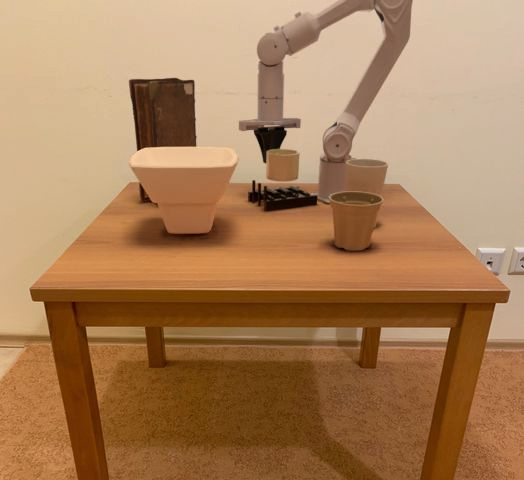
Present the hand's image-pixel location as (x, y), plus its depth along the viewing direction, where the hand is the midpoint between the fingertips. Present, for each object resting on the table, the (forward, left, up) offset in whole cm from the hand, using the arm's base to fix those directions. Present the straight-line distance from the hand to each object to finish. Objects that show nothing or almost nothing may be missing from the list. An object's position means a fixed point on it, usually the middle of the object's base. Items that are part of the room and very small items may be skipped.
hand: (269, 162), depth 119 cm
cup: (-7, +28, -8) cm, 30 cm away
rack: (0, +7, -8) cm, 10 cm away
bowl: (+26, +18, -8) cm, 32 cm away
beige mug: (0, +5, -2) cm, 5 cm away
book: (+21, -8, -8) cm, 24 cm away
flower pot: (+2, +38, -8) cm, 39 cm away
